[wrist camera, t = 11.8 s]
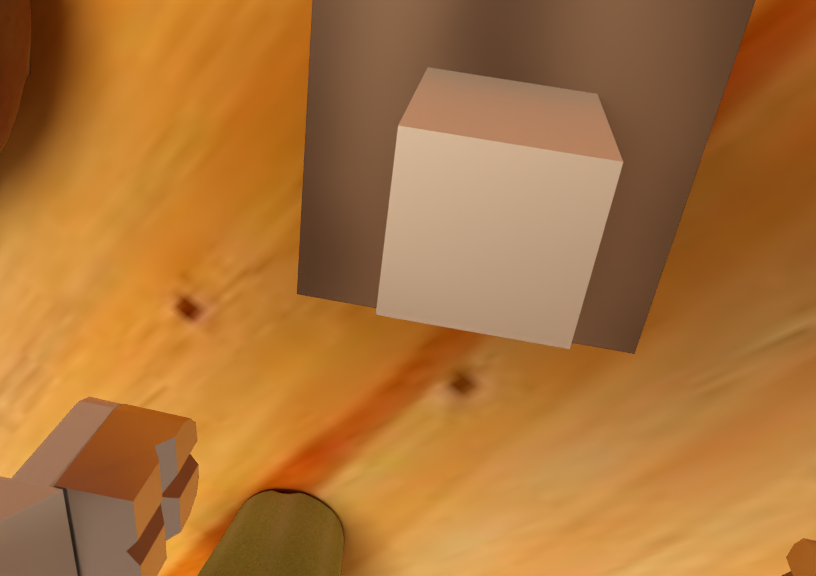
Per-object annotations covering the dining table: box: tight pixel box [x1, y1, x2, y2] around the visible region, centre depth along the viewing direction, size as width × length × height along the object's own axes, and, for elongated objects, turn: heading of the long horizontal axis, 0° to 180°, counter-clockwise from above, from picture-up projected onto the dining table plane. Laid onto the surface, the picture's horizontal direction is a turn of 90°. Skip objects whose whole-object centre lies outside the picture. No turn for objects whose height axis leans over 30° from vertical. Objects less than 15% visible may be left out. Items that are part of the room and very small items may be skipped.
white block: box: [376, 67, 623, 349], centre depth 20 cm, size 5×5×6 cm
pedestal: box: [297, 0, 755, 354], centre depth 25 cm, size 12×12×6 cm
